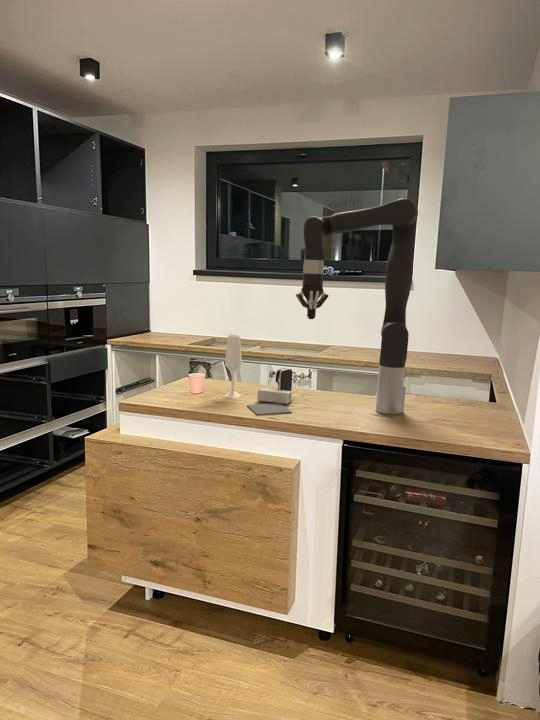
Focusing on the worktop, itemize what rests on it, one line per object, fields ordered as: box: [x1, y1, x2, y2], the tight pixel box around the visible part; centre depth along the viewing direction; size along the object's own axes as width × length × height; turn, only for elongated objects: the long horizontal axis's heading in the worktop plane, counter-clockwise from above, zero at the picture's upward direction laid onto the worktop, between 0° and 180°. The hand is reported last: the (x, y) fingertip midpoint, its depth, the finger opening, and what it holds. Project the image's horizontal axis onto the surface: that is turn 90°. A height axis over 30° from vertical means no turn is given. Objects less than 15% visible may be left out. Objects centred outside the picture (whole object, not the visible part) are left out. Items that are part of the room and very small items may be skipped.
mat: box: [246, 402, 293, 416], centre depth 189 cm, size 13×12×1 cm
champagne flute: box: [224, 334, 243, 399], centre depth 205 cm, size 7×7×24 cm
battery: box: [275, 367, 293, 391], centre depth 207 cm, size 7×4×11 cm, turn 139°
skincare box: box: [256, 387, 293, 405], centre depth 200 cm, size 6×4×12 cm
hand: (311, 318), depth 197 cm, fingers closed
